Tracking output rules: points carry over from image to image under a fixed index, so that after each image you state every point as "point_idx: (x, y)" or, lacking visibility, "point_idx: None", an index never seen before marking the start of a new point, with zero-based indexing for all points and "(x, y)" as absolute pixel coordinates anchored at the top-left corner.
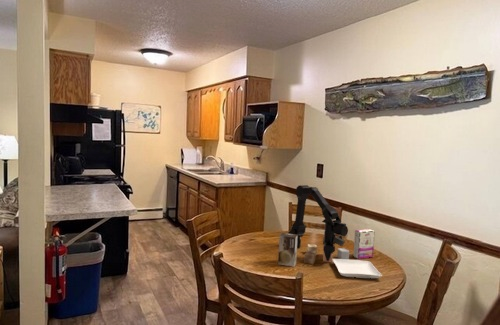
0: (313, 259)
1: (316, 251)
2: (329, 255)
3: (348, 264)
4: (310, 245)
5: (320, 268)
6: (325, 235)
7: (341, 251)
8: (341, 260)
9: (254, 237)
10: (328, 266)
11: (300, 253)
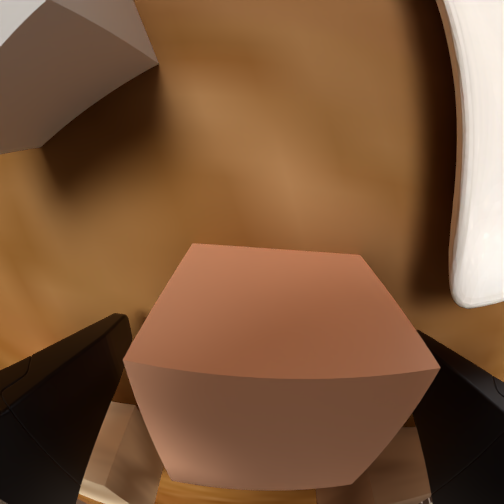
0: (422, 459)
1: (122, 444)
2: (491, 398)
3: (464, 16)
4: (97, 497)
5: (500, 367)
6: None
7: (40, 13)
8: (469, 102)
9: (86, 499)
10: (489, 311)
11: (166, 473)
